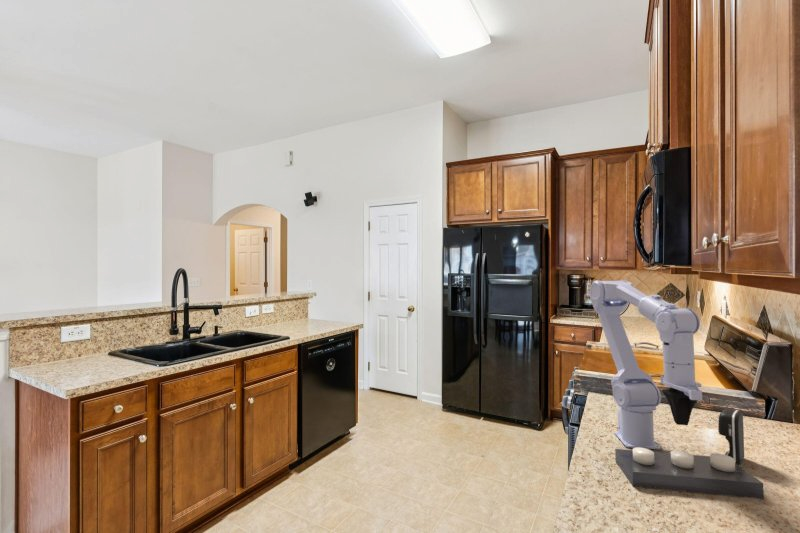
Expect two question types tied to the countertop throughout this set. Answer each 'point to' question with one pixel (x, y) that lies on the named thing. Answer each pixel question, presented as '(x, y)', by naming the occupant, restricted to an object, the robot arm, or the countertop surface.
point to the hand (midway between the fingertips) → (681, 423)
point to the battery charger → (733, 433)
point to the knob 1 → (643, 456)
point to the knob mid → (682, 459)
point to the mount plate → (688, 476)
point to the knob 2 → (722, 462)
